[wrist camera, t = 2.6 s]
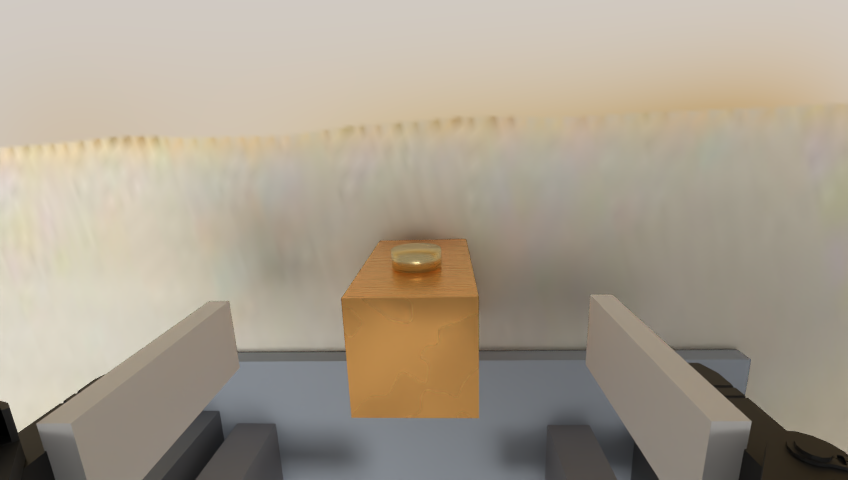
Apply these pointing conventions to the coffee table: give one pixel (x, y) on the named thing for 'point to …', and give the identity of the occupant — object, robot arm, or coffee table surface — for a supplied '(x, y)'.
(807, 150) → the coffee table surface
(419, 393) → the universal joint coupler
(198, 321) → the robot arm
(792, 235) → the coffee table surface
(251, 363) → the shaft rig
